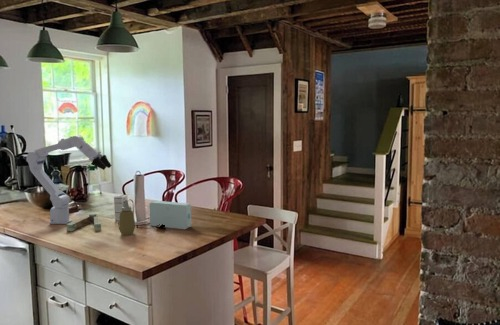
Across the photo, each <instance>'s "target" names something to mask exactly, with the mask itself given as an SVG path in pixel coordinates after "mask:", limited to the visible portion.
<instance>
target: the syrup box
mask: <svg viewBox="0 0 500 325" xmlns="http://www.w3.org/2000/svg"><path fill="white" fill-rule="evenodd" d="M125 200H127V201H128V195H127V194H118V195H116V196H115V195H114V196H113V207H114V221H116V222H119V219H120V212H121V211H122V207H124V203H125ZM128 202H129V201H128Z"/></svg>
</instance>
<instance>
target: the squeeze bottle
mask: <svg viewBox="0 0 500 325" xmlns="http://www.w3.org/2000/svg"><path fill="white" fill-rule="evenodd" d="M135 228H136V223H135V216H134V211H133V210H132V207H131V206H130V205H129V201H127V200H125V203H124V207H122V211H121V212H120V219H119V221H118V229H119V232H120V234H121V235H122V236H124V237H125V236H131V235H134V232H135Z"/></svg>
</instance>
